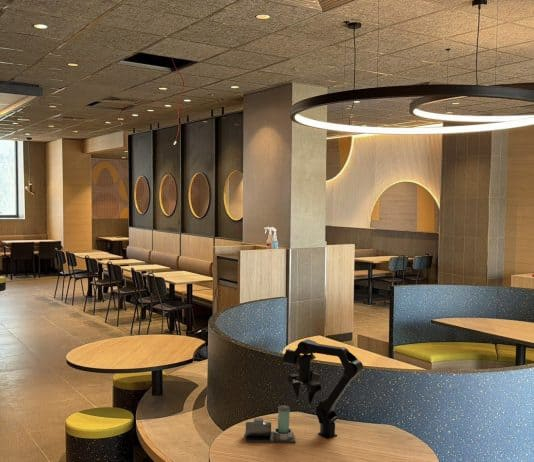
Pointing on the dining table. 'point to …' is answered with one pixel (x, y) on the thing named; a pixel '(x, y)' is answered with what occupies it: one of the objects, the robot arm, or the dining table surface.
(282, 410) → the green capped cylinder
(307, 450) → the dining table surface
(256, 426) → the grey socket base
